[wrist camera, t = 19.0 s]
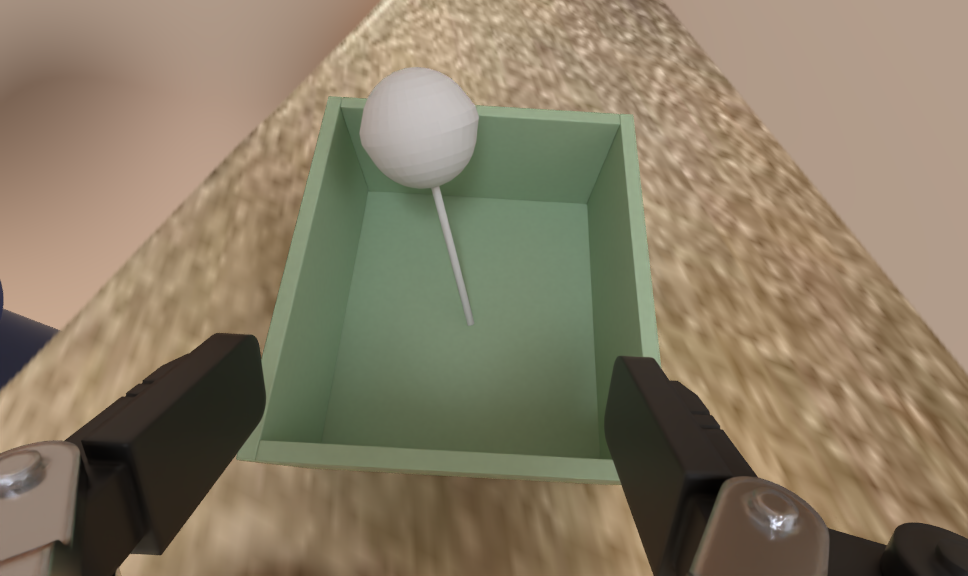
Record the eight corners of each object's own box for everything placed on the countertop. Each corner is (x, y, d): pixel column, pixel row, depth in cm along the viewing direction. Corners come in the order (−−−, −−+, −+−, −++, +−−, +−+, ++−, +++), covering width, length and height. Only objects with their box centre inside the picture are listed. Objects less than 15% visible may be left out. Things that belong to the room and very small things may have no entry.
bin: (308, 468, 26) (234, 459, 18) (362, 189, 34) (328, 95, 26) (610, 484, 26) (674, 484, 18) (593, 203, 34) (633, 114, 26)
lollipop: (413, 355, 27) (320, 88, 20) (435, 304, 32) (367, 76, 25) (515, 347, 26) (453, 57, 19) (521, 295, 31) (475, 51, 24)
